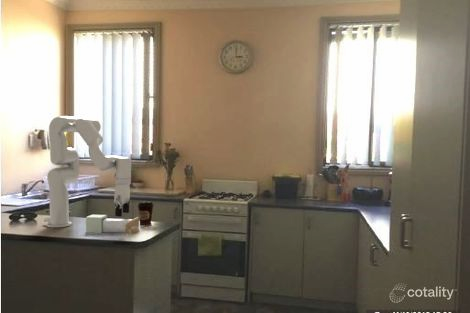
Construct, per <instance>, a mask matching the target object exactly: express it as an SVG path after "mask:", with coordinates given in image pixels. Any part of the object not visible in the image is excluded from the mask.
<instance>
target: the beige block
mask: <svg viewBox="0 0 470 313" xmlns="http://www.w3.org/2000/svg"><path fill="white" fill-rule="evenodd" d="M132 219H133V220H131V224H127V223H126V224H125V233H124V234H125V235H135V234H136V233H137V232H139V231H140V221H139V216H136V217H134V218H132Z"/></svg>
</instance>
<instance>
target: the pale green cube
mask: <svg viewBox="0 0 470 313" xmlns="http://www.w3.org/2000/svg"><path fill="white" fill-rule="evenodd" d="M103 218H105V219H108V214H90V215H88V216H86V217H85V232H86V233H93V234H95V233H97V234H99V233H101V234H102V233H103V232H102V219H103Z"/></svg>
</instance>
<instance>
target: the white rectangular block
mask: <svg viewBox="0 0 470 313" xmlns="http://www.w3.org/2000/svg"><path fill="white" fill-rule="evenodd" d="M133 219H134V218H132V219H130V218H128V219H127V218H107V219H105V218H103V219H102V233H124V234H125V224H126V223H127V224H131V220H133Z"/></svg>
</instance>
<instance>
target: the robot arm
mask: <svg viewBox="0 0 470 313" xmlns="http://www.w3.org/2000/svg"><path fill="white" fill-rule="evenodd" d="M100 130H101V124H100V121H98V119H96V118H93V117H92V118H91V117H80V116H68V115H59V116H56V117H54V118H53V119H52V120H51V121H50V123H49V125H48V131H49V132H48V133H49V141H50V142H49V148H50V149H49V157H50V162H51V164H53V165H54V166H61V167H55V168H52V169H50V170H49V171H48V172H47V179H46V180H47V183H48V190H49V216H48V217H44V218H43V222H45V223H46V222H47V223H46V226H47V227H48V228H65V227H70V226H72V224H73V223H72V221H70V219H69V218H70V216H69V213H70V212H69V211H70V210H69V209H70V207H69V205H70V204H69V203H70V202H69V190H68V187H67V186H66V185H70V184H71V185H72V184H74V183H76V182H77V181H78V179H79V177H80V176H79V175H80V158H79V156H80V155H79V154H78V151H77V150H76V148H74V147H73V148H72V147H68V138H67V136H66V134H65V133H78V134H79V135H80V137H81V138H82V139H83V141H84V143H86V145H87V146H88V156H89V159H90V161H92V163H93V165H94V166H95V168H97V169H98V170H99V171H102V172H108V171H115V184H114V185H115V189H114V196H113V203H114V207H115V209H114V211H115V217H122V215H123V214H122V213H124V214H128V213H130V198H131V186H130V185H131V184H132V158H131V157H128V156H118V155H105V154H104V153H103V152H102V151H101V148H100V146H101V144H102V143H103V141H104V137H103V136H102V135H101V133H100V132H101V131H100ZM62 166H63V167H62Z"/></svg>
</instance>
